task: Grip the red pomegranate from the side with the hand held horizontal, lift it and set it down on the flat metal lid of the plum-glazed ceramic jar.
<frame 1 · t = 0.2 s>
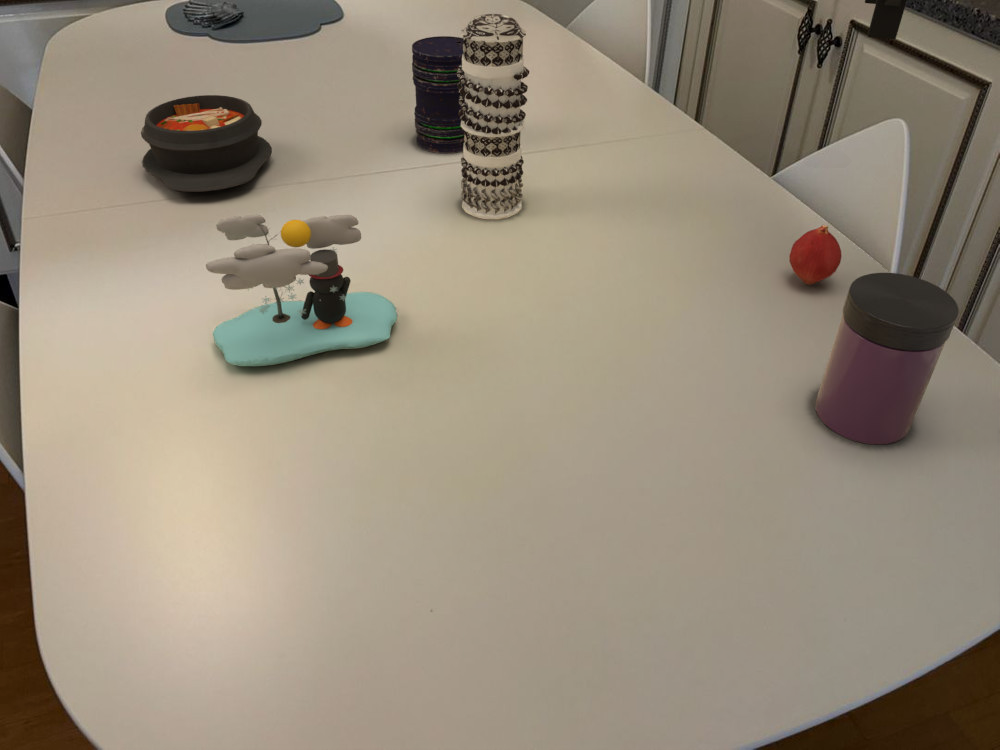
hand: (879, 19, 93), 29 cm above the table, tool pointing down, fingers open, 13 cm apart
jar lid: (901, 303, 77), point 13 cm above the table, screwed on, not yet turned
jar: (861, 414, 85), on the table
storage jar: (446, 142, 138), on the table
red pomegranate: (807, 284, 105), on the table
decorative candle: (492, 206, 120), on the table
casserole: (210, 168, 129), on the table
penguin figurine: (309, 339, 94), on the table
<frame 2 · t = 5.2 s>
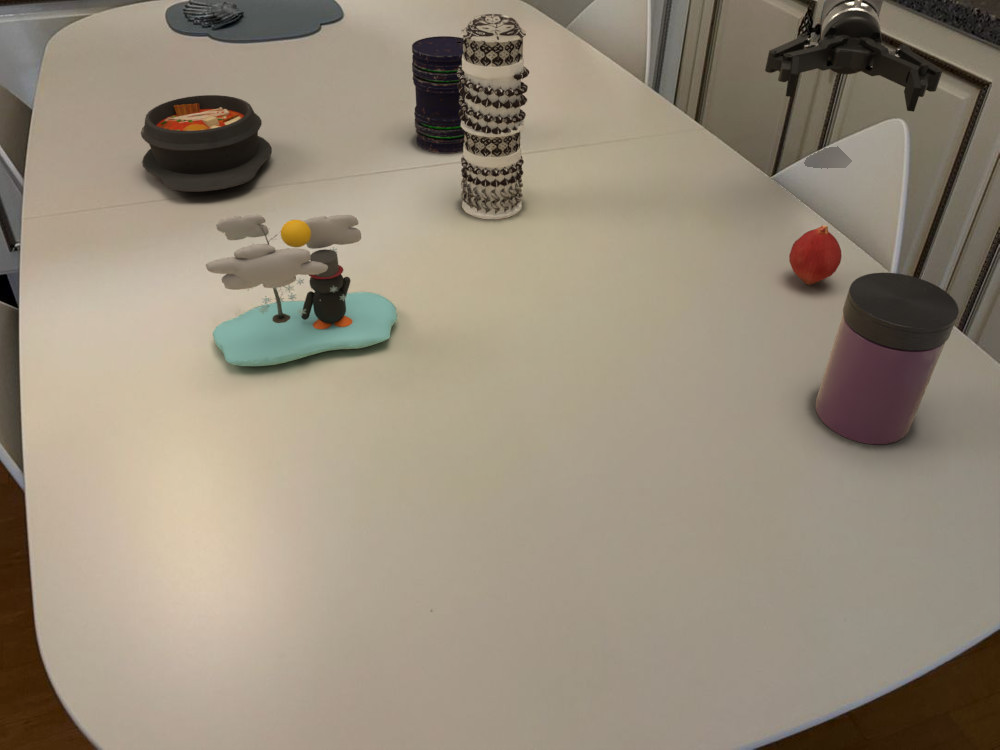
hand: (851, 92, 99), 20 cm above the table, tool horizontal, fingers open, 13 cm apart
nothing on the table moved.
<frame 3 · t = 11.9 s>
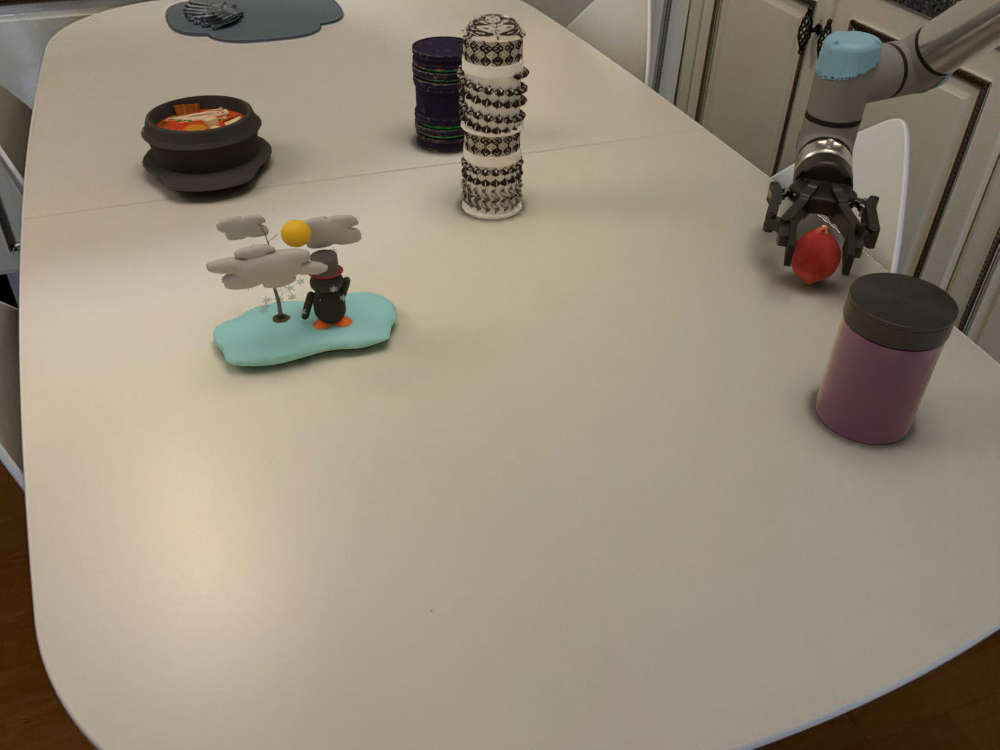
hand: (818, 260, 97), 6 cm above the table, tool horizontal, fingers closed on red pomegranate, 6 cm apart
red pomegranate: (807, 284, 105), on the table, touching gripper
everything else where it was.
when the fingers open (20 cm above the table, at t = 20.8 s): red pomegranate stays where it is, resting on jar lid.
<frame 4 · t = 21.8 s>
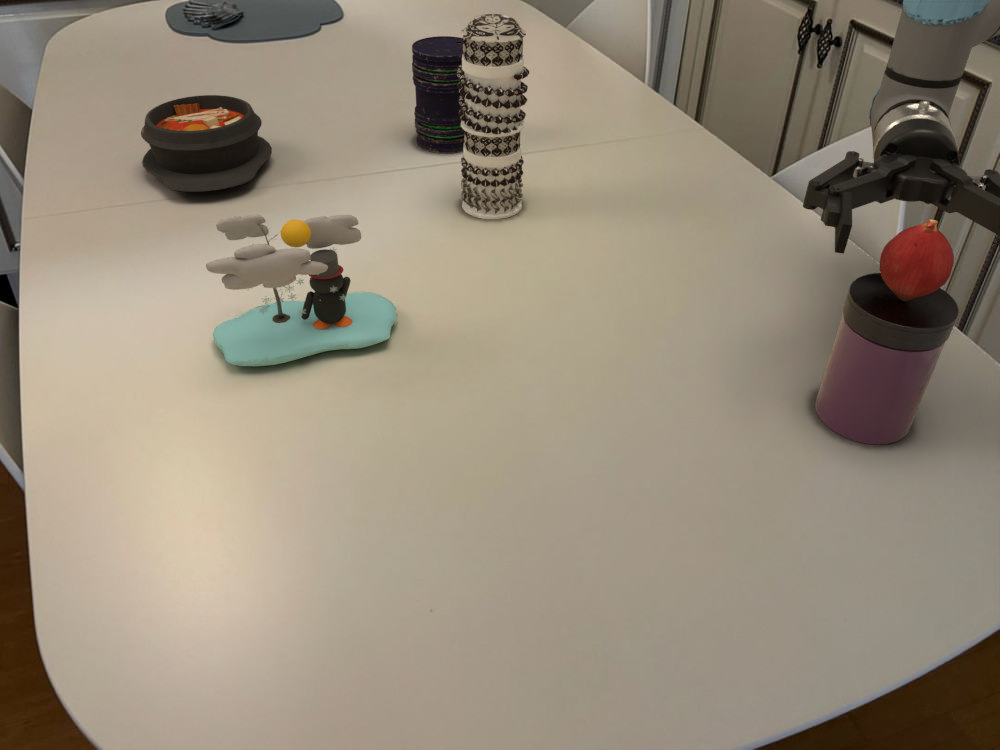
hand: (929, 252, 70), 20 cm above the table, tool horizontal, fingers open, 13 cm apart
jar lid: (901, 303, 77), point 13 cm above the table, screwed on, not yet turned, touching red pomegranate
red pomegranate: (902, 300, 77), point 13 cm above the table, touching jar lid
everything else where it was.
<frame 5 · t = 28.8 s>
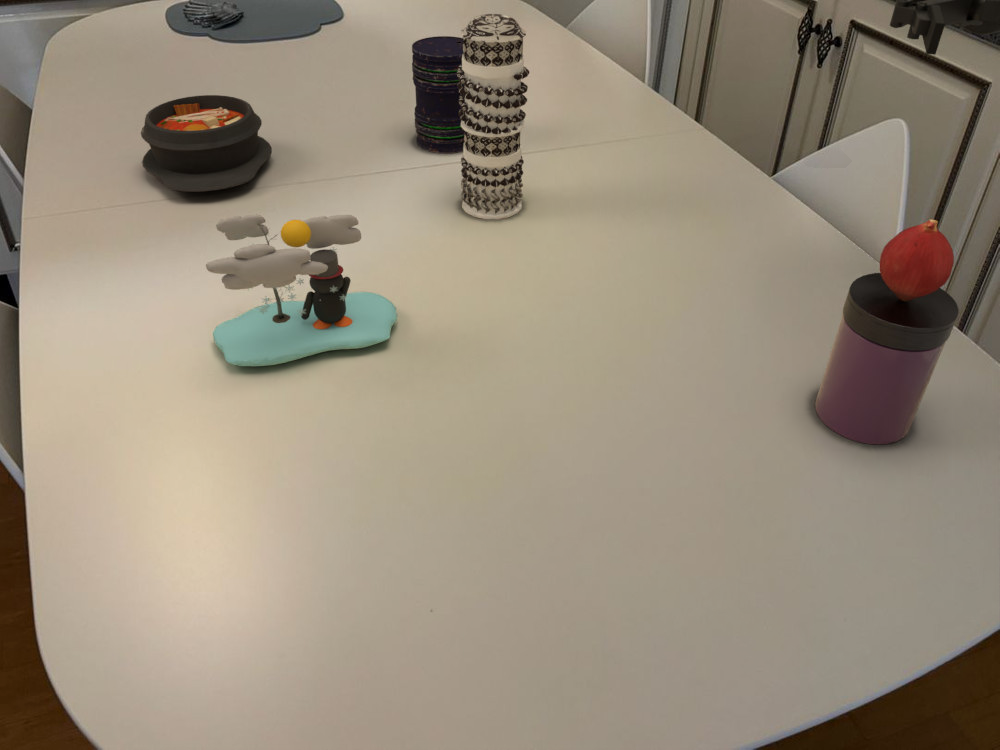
nothing on the table moved.
at the end: red pomegranate inside the target area on the jar (0.0 cm from its centre), point 13.4 cm above the jar's base; the gripper is holding nothing; jar tilted 0° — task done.
